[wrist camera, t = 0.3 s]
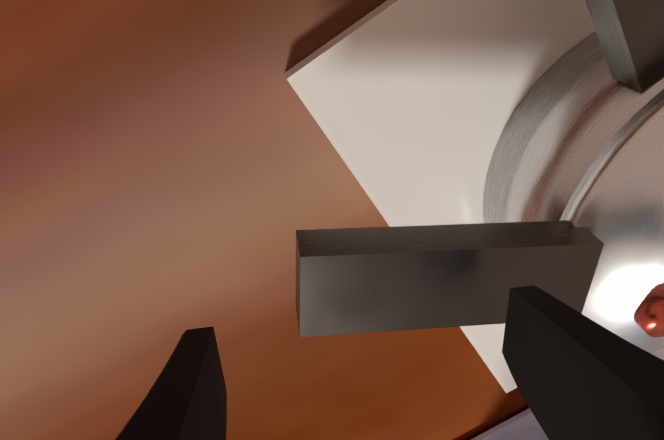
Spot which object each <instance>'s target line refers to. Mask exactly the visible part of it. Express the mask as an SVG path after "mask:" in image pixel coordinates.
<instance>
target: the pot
mask: <svg viewBox="0 0 664 440" xmlns="http://www.w3.org/2000/svg"><path fill="white" fill-rule="evenodd" d="M585 2H586V5H587V8H588V10H589V13H590V16H591V19H592V22H593V25H594V28H595V30H596V31H595V32H593V33H591V34H590V35H588V36H587V37H586V38H584V39H583V40H581V41H580V42H579V43H577V44H576V45H575V46H573V47H572V48H570V49H569V50H568V51H567V52H565V53H564V54H563V55H562V56H561V57H560V58H559V59H558V60H557V61H556V62H554V63H553V64H552V65H551V66H550V67H549V68H548V69H547V70H546V71H545V72H544V73H543V74H542V75H541V77H540V78H539V79H538V80H537V81H536V82H535V83H534V84H533V85H532V87H531V88H530V89H529V90H528V92H527V93H526V94H525V96H524V97H523V99H522V100H521V101H520V103H519V104H518V105H517V107H516V108H515V110H514V111H513V113H512V115H511V117H510V118H509V120H508V122H507V124H506V125H505V127H504V129H503V131H502V133H501V135H500V137H499V140H498V142H497V144H496V147H495V149H494V151H493V154H492V157H491V161H490V164H489V167H488V171H487V174H486V180H485V186H484V192H483V220H484V223H507V222H534V221H559V220H560V218H561V216H562V214H563V212H564V210H565V208H566V206H567V203H568V201H569V199H570V197H571V196H572V194H573V192H574V191H575V189H576V188H577V186H578V184H579V183H580V181H581V179H582V178H583V176H584V175H585V173H586V171H587V170H588V169H589V167H590V166H591V165H592V163H593V162H594V161H595V159H596V158H597V157H598V155H599V154H600V153H601V152H602V150H603V149H604V148H605V146H606V145H607V144H608V142H609V141H610V140H611V139H612V138H613V137H614V136H615V135H616V134H617V133H618V132H619V131H620V129H621V128H622V127H623V126H624V125H625V124H626V123H627V122H628V121H629V120H630V119H631V118H632V117H633V116H634V115H635V114H636V113H637V112H638V111H639V110H640V109H641V108H642V107H644V106H645V105H646V104H647V103H648V102H649V101H650V100H651V99H653V98H654V97H655V96H656V95H657V94H658V93H659V92H660V91H662V90H663V89H664V0H585Z"/></svg>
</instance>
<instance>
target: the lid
mask: <svg viewBox="0 0 664 440" xmlns="http://www.w3.org/2000/svg"><path fill="white" fill-rule="evenodd" d="M531 285H535V286H536V287H538V288H540V289H542V290H543V291H545V292H547V293H549V294H550V295H552V296H554V297H555V298H557V299H558V300H560V301H562V302H563V303H565V304H567V305H568V306H570V307H571V308H573V309H575V310H576V311H578V312H579V313H581V314H583V315H584V316H586V317H588V318H589V319H591V320H593V321H594V322H596V323H597V324H599V325H601V326H602V327H604V328H606V329H608V330H609V331H611V332H613V333H614V334H616V335H618V336H620V337H621V338H623V339H625V340H627V341H628V342H630V343H632V344H634V345H636V346H638V347H639V348H641V349H643V350H645V351H647V352H649V353H651V354H652V355H654V356H656V357H658V358H660V359H662V360H664V89H663V90H662V91H660V92H659V93H658V94H657V95H656V96H655V97H654V98H653V99H651V100H650V101H649V102H648V103H647V104H646V105H645V106H644V107H642V108H641V109H640V110H639V111H638V112H637V113H636V114H635V115H634V116H633V117H632V118H631V119H630V120H629V121H628V122H627V123H626V124H625V125H624V126H623V127H622V128H621V129H620V131H619V132H618V133H617V134H616V135H615V136H614V137H613V138H612V139H611V140H610V141H609V142H608V144H607V145H606V146H605V148H604V149H603V150H602V152H601V153H600V154H599V155H598V157H597V158H596V159H595V161H594V162H593V163H592V165H591V166H590V167H589V169H588V170H587V171H586V173H585V175H584V176H583V178H582V179H581V181H580V183H579V184H578V186H577V188H576V189H575V191H574V192H573V194H572V196H571V197H570V199H569V201H568V203H567V206H566V208H565V210H564V212H563V214H562V216H561V218H560V220H559V221H534V222H507V223H480V224H453V225H426V226H399V227H372V228H345V229H318V230H296V312H297V319H298V327H299V335H300V337H306V336H321V335H336V334H352V333H367V332H382V331H398V330H413V329H428V328H443V327H459V326H474V325H489V324H505V323H506V315H507V308H508V300H509V292H510V288H515V287H523V286H531Z"/></svg>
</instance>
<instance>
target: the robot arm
mask: <svg viewBox="0 0 664 440" xmlns="http://www.w3.org/2000/svg"><path fill="white" fill-rule="evenodd" d="M502 354H503V356H504V358H505V361H506V363H507V365H508V368H509V370H510V372H511V375H512V377H513V379H514V381H515V383H516V385H517V388H518V390H519V391H520V393H521V395H522V396H523V398H524V400H525V401H526V403H527V405H528V406H529V408H528V409H526V410H524V411H523V412H521V413H519V414H517V415H515V416H513V417H511V418H510V419H508V420H506V421H504V422H502V423H500V424H499V425H497V426H495V427H493V428H491V429H489V430H487V431H486V432H484V433H482V434H480V435H478V436H476V437H474V438H473V439H471V440H664V360H662V359H660V358H658V357H656V356H654V355H652V354H651V353H649V352H647V351H645V350H643V349H641V348H639V347H638V346H636V345H634V344H632V343H630V342H628V341H627V340H625V339H623V338H621V337H620V336H618V335H616V334H614V333H613V332H611V331H609V330H608V329H606V328H604V327H602V326H601V325H599V324H597V323H596V322H594V321H593V320H591V319H589V318H588V317H586V316H584V315H583V314H581V313H579V312H578V311H576V310H575V309H573V308H571V307H570V306H568V305H567V304H565V303H563V302H562V301H560V300H558V299H557V298H555V297H554V296H552V295H550V294H549V293H547V292H545V291H543V290H542V289H540V288H538V287H536V286H535V285H531V286H523V287H515V288H510V292H509V300H508V308H507V315H506V323H505V331H504V339H503V347H502ZM226 422H227V395H226V386H225V381H224V376H223V372H222V367H221V362H220V357H219V352H218V347H217V343H216V338H215V333H214V328H213V327H206V328H198V329H191V330H186V331H185V333H184V334H183V335H182V337H181V339H180V341H179V342H178V344H177V346H176V348H175V350H174V352H173V353H172V355H171V357H170V359H169V360H168V362H167V364H166V365H165V367H164V369H163V370H162V372H161V374H160V375H159V377H158V379H157V380H156V382H155V383H154V385H153V386H152V388H151V389H150V391H149V393H148V394H147V396H146V397H145V399H144V400H143V402H142V403H141V405H140V406H139V408H138V409H137V410H136V412H135V413H134V415H133V416H132V417H131V419H130V420H129V422H128V423H127V424H126V426H125V427H124V429H123V430H122V431H121V433H120V434H119V435H118V437H117V438H116V439H115V440H226Z"/></svg>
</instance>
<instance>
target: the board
mask: <svg viewBox="0 0 664 440" xmlns="http://www.w3.org/2000/svg"><path fill="white" fill-rule="evenodd" d="M595 31H596V30H595V28H594V25H593V22H592V19H591V16H590V13H589V10H588V8H587V5H586V2H585V0H387V1H385V2H384V3H382V4H381V5H380V6H378V7H377V8H375V9H374V10H373V11H371V12H370V13H368V14H367V15H365V16H364V17H363V18H361V19H360V20H358V21H357V22H356V23H354V24H353V25H351V26H350V27H348V28H347V29H346V30H344V31H343V32H341V33H340V34H339V35H337V36H336V37H334V38H333V39H332V40H330V41H329V42H327V43H326V44H324V45H323V46H322V47H320V48H319V49H317V50H316V51H315V52H313V53H312V54H310V55H309V56H308V57H306V58H305V59H303V60H302V61H300V62H299V63H298V64H296V65H295V66H293V67H292V68H291V69H289V70H288V71H286V72H285V75H286V79H287V80H288V82H289V83H290V85H291V86H292V87H293V89H294V90H295V92H296V93H297V95H298V96H299V97H300V99H301V100H302V102H303V103H304V105H305V106H306V107H307V109H308V110H309V112H310V113H311V115H312V116H313V117H314V119H315V120H316V122H317V123H318V125H319V126H320V128H321V129H322V130H323V132H324V133H325V135H326V136H327V138H328V139H329V140H330V142H331V143H332V145H333V146H334V148H335V149H336V150H337V152H338V153H339V155H340V156H341V158H342V159H343V160H344V162H345V163H346V165H347V166H348V168H349V169H350V170H351V172H352V173H353V175H354V176H355V178H356V179H357V180H358V182H359V183H360V185H361V186H362V188H363V189H364V190H365V192H366V193H367V195H368V196H369V198H370V199H371V200H372V202H373V203H374V205H375V206H376V208H377V209H378V210H379V212H380V213H381V215H382V216H383V218H384V219H385V220H386V222H387V223H388V225H389V226H390V227H399V226H426V225H453V224H480V223H484V220H483V192H484V186H485V180H486V174H487V171H488V167H489V164H490V161H491V157H492V154H493V151H494V149H495V147H496V144H497V142H498V140H499V137H500V135H501V133H502V131H503V129H504V127H505V125H506V124H507V122H508V120H509V118H510V117H511V115H512V113H513V111H514V110H515V108H516V107H517V105H518V104H519V103H520V101H521V100H522V99H523V97H524V96H525V94H526V93H527V92H528V90H529V89H530V88H531V87H532V85H533V84H534V83H535V82H536V81H537V80H538V79H539V78H540V77H541V75H542V74H543V73H544V72H545V71H546V70H547V69H548V68H549V67H550V66H551V65H552V64H553V63H554V62H556V61H557V60H558V59H559V58H560V57H561V56H562V55H563V54H564V53H565V52H567V51H568V50H569V49H570V48H572V47H573V46H575V45H576V44H577V43H579V42H580V41H581V40H583V39H584V38H586V37H587V36H588V35H590V34H591V33H593V32H595ZM460 328H461V329H462V331H463V332H464V333H465V335H466V336H467V338H468V339H469V341H470V342H471V344H472V345H473V346H474V348H475V349H476V351H477V352H478V354H479V355H480V356H481V358H482V359H483V361H484V362H485V364H486V365H487V366H488V368H489V369H490V371H491V372H492V374H493V375H494V376H495V378H496V379H497V381H498V382H499V384H500V385H501V386H502V388H503V389H504V391H505V392H506V393H508V392H510V391H512V390H513V389H515V388H517V385H516V383H515V381H514V379H513V377H512V375H511V372H510V370H509V368H508V365H507V363H506V361H505V358H504V356H503V354H502V347H503V339H504V331H505V324H489V325H474V326H460Z"/></svg>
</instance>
